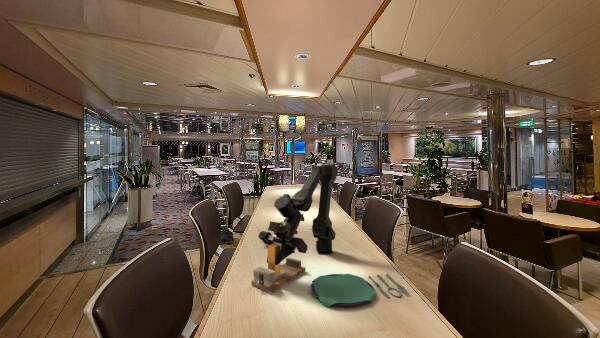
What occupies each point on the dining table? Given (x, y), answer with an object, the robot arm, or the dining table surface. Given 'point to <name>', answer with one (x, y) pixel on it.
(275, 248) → the orange wooden beam
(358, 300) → the cutlery set
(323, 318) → the dining table surface
